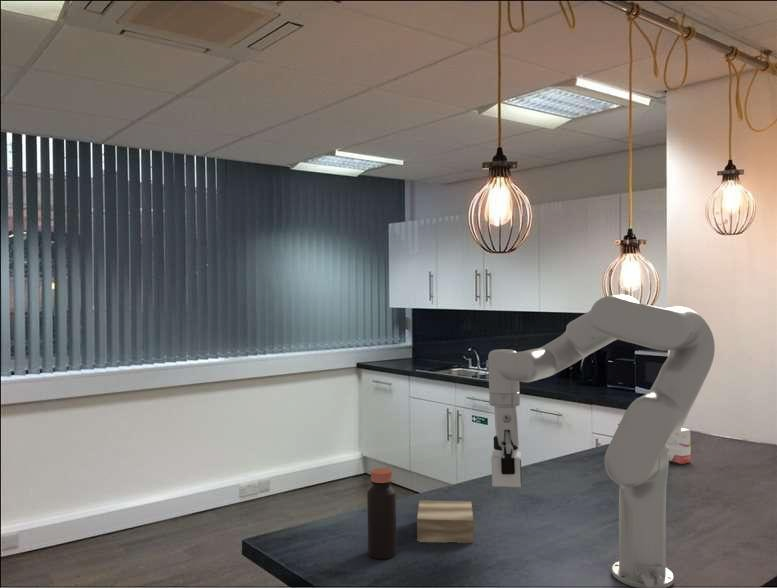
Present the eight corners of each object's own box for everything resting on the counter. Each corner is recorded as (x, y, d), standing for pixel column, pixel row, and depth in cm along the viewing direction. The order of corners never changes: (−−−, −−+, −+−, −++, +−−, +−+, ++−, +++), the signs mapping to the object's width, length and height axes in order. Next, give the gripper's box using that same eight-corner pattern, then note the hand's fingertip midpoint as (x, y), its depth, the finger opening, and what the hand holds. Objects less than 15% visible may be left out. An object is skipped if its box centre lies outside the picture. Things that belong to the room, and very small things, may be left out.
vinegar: (380, 545, 160) (379, 465, 159) (402, 553, 155) (401, 470, 155) (362, 555, 154) (361, 471, 154) (384, 562, 150) (383, 477, 150)
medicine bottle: (521, 487, 158) (520, 438, 158) (492, 486, 159) (490, 438, 159) (521, 479, 165) (520, 432, 165) (493, 478, 166) (491, 431, 166)
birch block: (473, 544, 161) (473, 520, 161) (417, 543, 162) (417, 519, 162) (471, 523, 175) (471, 501, 175) (419, 522, 176) (419, 500, 176)
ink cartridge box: (691, 462, 229) (691, 421, 228) (681, 464, 227) (681, 422, 226) (671, 456, 236) (671, 416, 236) (661, 458, 234) (661, 418, 234)
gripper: (523, 405, 153) (526, 479, 153) (516, 393, 171) (518, 460, 171) (491, 405, 154) (493, 479, 154) (487, 393, 171) (489, 460, 171)
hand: (506, 468), depth 162 cm, fingers closed on medicine bottle, 7 cm apart
